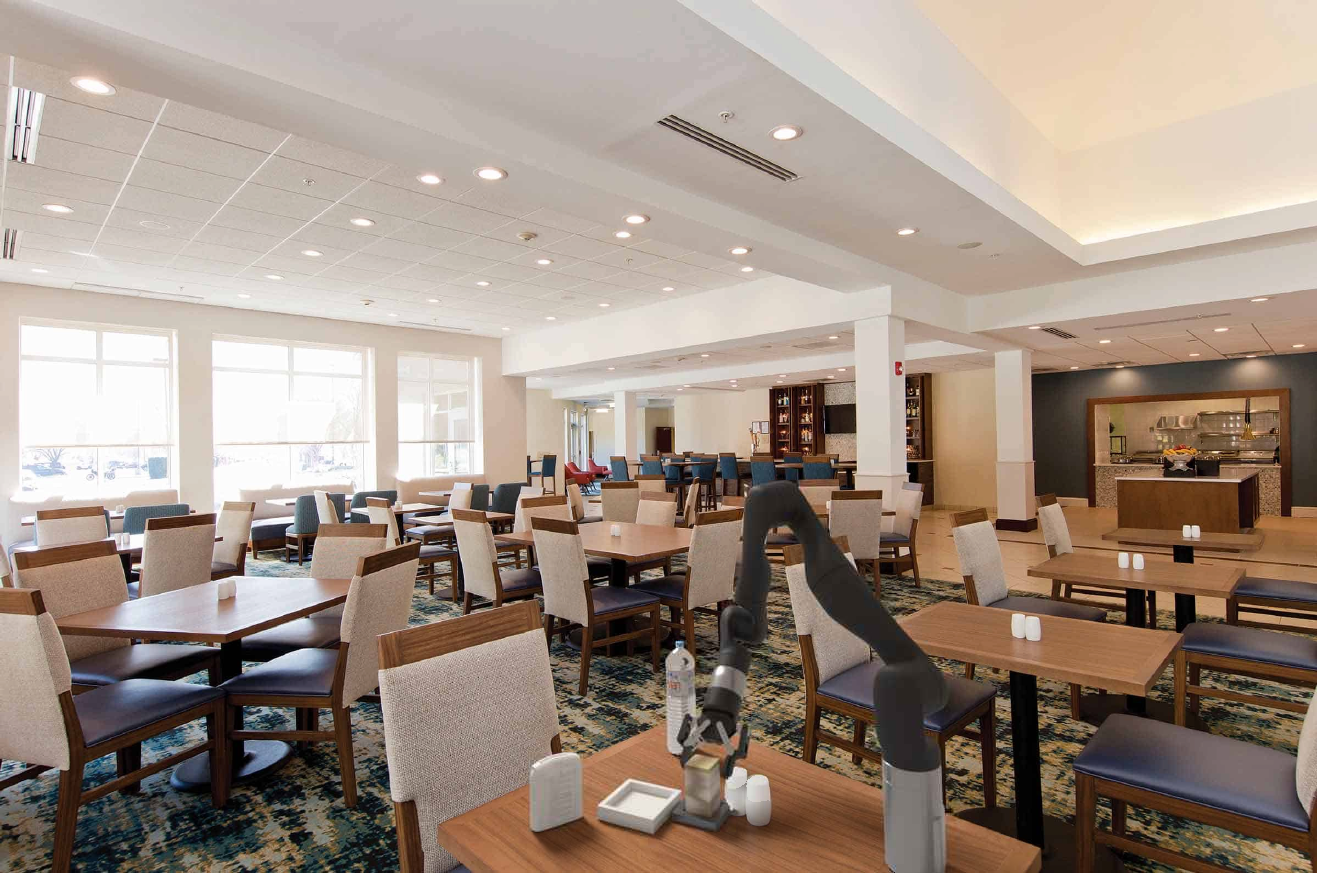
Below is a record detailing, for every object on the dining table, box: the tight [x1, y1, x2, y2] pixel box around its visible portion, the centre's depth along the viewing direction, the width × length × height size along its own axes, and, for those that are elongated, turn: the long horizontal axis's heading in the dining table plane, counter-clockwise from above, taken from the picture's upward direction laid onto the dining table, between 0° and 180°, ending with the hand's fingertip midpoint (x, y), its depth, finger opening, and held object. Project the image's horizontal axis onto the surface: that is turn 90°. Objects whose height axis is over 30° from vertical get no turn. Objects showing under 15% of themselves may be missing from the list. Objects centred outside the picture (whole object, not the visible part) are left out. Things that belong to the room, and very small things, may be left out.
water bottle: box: [665, 640, 697, 756], centre depth 158 cm, size 7×7×25 cm
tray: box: [596, 778, 683, 835], centre depth 131 cm, size 12×12×2 cm
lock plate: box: [671, 797, 732, 833], centre depth 129 cm, size 9×9×2 cm
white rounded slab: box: [529, 752, 584, 833], centre depth 128 cm, size 10×4×12 cm, turn 123°
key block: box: [684, 753, 721, 818], centre depth 129 cm, size 5×5×10 cm
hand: (704, 773), depth 130 cm, fingers open, 8 cm apart
